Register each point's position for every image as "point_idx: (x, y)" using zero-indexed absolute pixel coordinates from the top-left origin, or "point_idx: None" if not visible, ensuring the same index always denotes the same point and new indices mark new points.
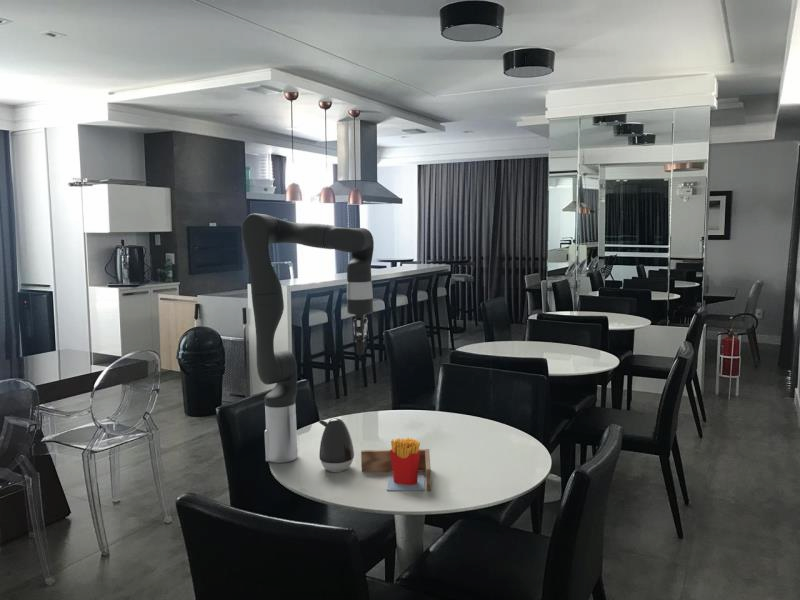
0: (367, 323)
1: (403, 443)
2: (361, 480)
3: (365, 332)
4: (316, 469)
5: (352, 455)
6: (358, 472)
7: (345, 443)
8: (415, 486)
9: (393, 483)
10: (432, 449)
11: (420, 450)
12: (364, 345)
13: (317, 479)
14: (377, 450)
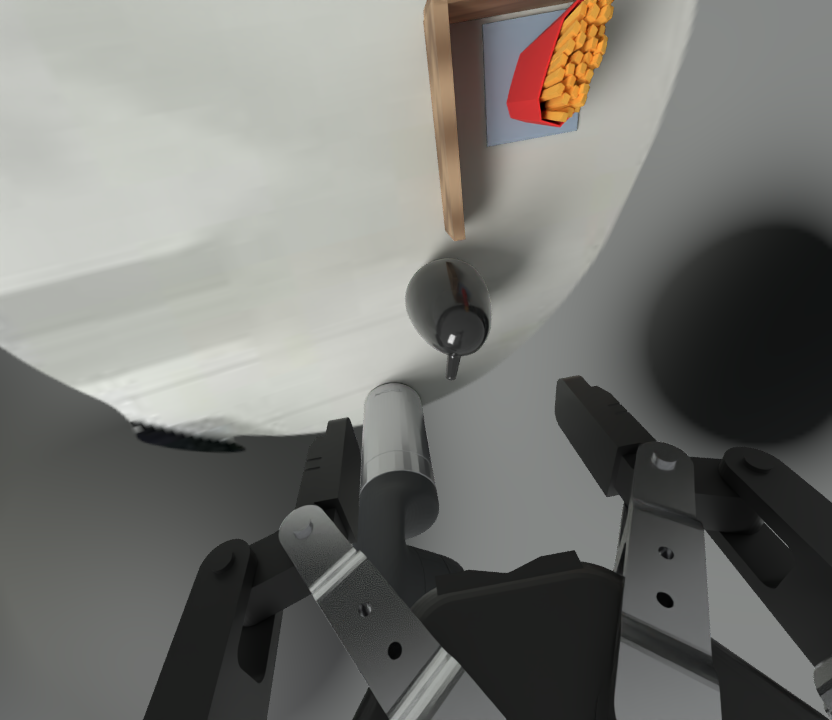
0: (474, 683)
1: (600, 61)
2: (507, 215)
3: (698, 522)
4: None
5: (457, 260)
6: None
7: (479, 284)
8: None
9: None
10: (238, 24)
11: (448, 25)
12: (348, 443)
13: (499, 310)
14: (455, 192)
